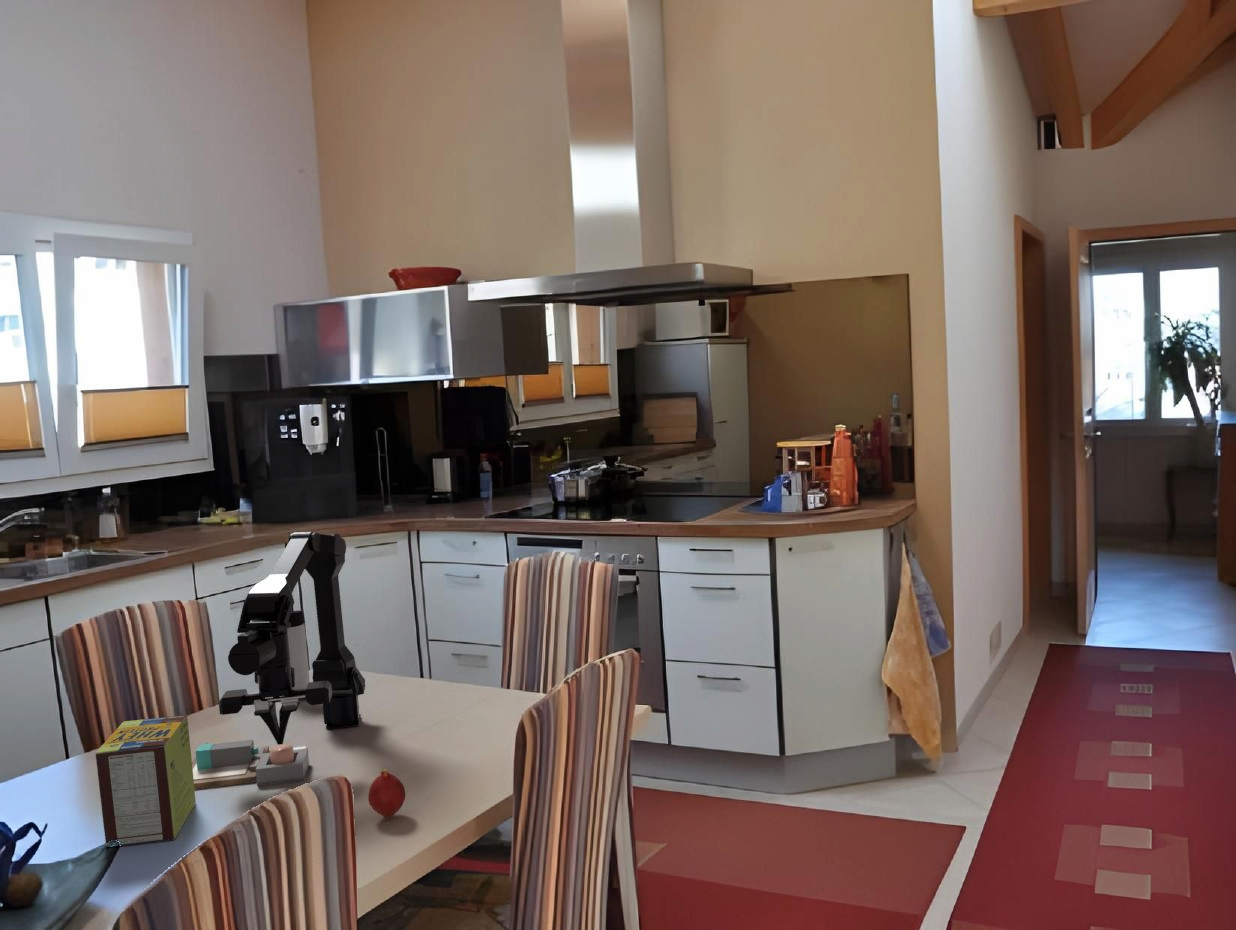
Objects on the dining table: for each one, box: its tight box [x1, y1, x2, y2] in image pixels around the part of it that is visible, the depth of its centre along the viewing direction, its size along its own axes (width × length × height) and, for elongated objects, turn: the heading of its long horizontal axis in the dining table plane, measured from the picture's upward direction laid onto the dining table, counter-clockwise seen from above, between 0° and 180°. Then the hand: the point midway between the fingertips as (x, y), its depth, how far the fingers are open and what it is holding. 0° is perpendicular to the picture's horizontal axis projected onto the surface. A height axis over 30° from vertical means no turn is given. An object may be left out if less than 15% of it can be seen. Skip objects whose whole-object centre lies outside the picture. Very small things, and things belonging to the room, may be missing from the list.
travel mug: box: [280, 609, 311, 702], centre depth 239 cm, size 6×7×20 cm
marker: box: [195, 739, 259, 770], centre depth 198 cm, size 10×4×4 cm, turn 100°
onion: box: [367, 769, 406, 819], centre depth 172 cm, size 6×6×8 cm
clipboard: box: [192, 745, 270, 790], centre depth 198 cm, size 13×16×2 cm
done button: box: [269, 744, 294, 765], centre depth 193 cm, size 4×4×4 cm
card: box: [293, 745, 307, 750], centre depth 204 cm, size 6×5×1 cm
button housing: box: [256, 748, 310, 787], centre depth 193 cm, size 8×8×3 cm
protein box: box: [95, 714, 196, 848], centre depth 174 cm, size 10×15×16 cm
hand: (280, 743), depth 193 cm, fingers closed
